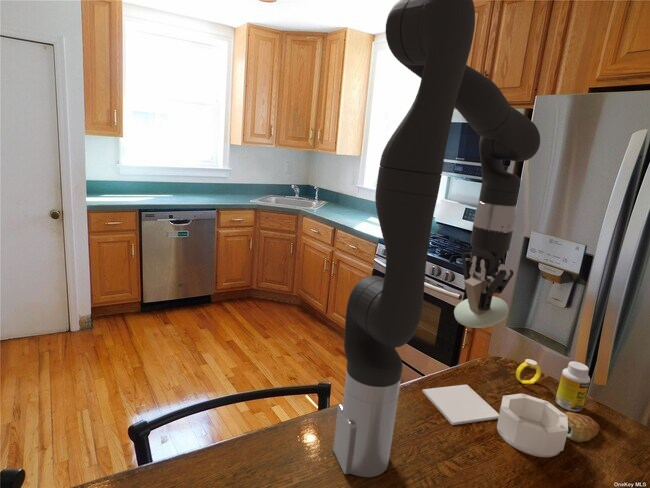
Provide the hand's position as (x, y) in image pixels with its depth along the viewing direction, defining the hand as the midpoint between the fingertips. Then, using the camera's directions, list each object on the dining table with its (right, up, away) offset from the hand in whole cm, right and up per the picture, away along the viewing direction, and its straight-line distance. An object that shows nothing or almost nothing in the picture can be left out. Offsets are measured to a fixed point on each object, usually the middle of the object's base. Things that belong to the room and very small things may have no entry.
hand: (478, 306), depth 90 cm
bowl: (+9, -26, -3) cm, 28 cm away
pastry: (+20, -27, 0) cm, 33 cm away
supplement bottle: (+24, -24, +9) cm, 36 cm away
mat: (-2, -23, +6) cm, 24 cm away
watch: (+18, -22, +18) cm, 33 cm away
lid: (+1, -2, +1) cm, 2 cm away
